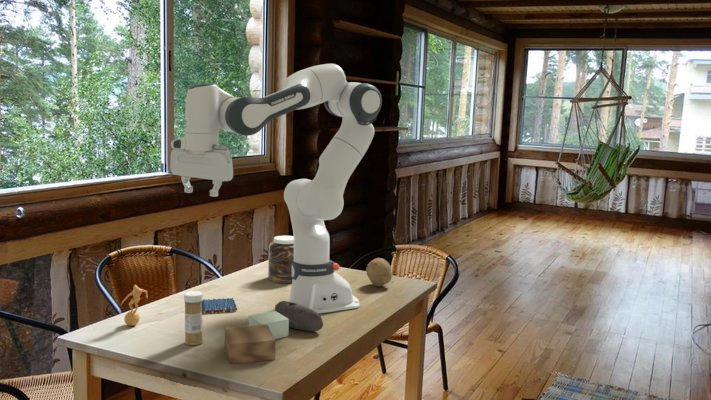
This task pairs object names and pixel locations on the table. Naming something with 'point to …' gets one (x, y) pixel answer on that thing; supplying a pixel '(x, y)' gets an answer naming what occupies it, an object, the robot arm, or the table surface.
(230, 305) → the woven mat
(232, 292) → the table surface
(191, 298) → the sprinkles bottle
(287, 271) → the jar
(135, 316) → the figurine
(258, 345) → the walnut block
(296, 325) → the perforated stone tool
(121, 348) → the table surface
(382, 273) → the natural sponge
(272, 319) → the grey-green block
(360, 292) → the table surface
